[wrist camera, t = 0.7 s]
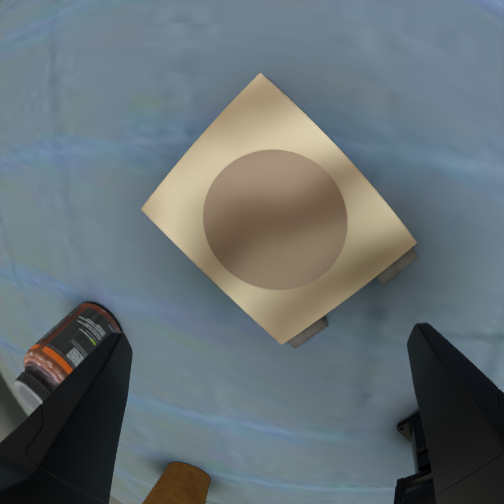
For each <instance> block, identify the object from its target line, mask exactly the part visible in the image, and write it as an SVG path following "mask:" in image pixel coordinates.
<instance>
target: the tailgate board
mask: <svg viewBox="0 0 504 504" xmlns="http://www.w3.org/2000/svg"><path fill="white" fill-rule="evenodd" d="M141 210H142V211H143V212H144V213H145V214H146V215H147V216H148V217H149V218H150V219H151V220H152V221H153V222H154V223H155V224H156V225H157V226H158V227H159V228H160V229H161V230H162V231H163V232H164V233H165V234H166V235H167V236H168V237H169V238H170V239H171V240H172V241H173V242H174V243H175V244H176V245H177V246H178V247H179V248H180V249H181V250H182V251H183V252H184V253H185V254H186V255H187V256H188V257H189V258H190V259H191V260H192V261H193V262H194V263H195V264H196V265H197V266H198V267H199V268H200V269H201V270H202V271H203V272H204V273H205V274H206V275H207V276H208V277H209V278H210V279H211V280H212V281H213V282H214V283H216V284H217V285H218V286H219V287H220V288H221V289H222V290H223V291H224V292H225V293H226V294H227V295H228V296H229V297H230V298H231V299H232V300H233V301H234V302H235V303H237V304H238V305H239V306H240V307H241V308H242V309H243V310H244V311H245V312H246V313H247V314H248V315H249V316H250V317H252V318H253V319H254V320H255V321H256V322H257V323H258V324H259V325H260V326H261V327H262V328H263V329H265V330H266V331H267V332H268V333H269V334H270V335H271V336H272V337H273V338H274V339H276V340H277V341H278V342H279V343H280V344H281V345H282V344H284V343H285V342H287V341H288V343H289V344H290V345H291V346H292V347H294V348H296V347H298V346H299V345H301V344H302V343H304V342H305V341H307V340H308V339H310V338H311V337H313V336H314V335H316V334H317V333H319V332H320V331H322V330H323V329H325V328H326V327H327V326H328V322H327V320H326V318H325V317H324V315H326V314H327V313H328V312H330V311H331V310H333V309H334V308H335V307H337V306H338V305H339V304H341V303H342V302H343V301H345V300H346V299H347V298H349V297H350V296H351V295H353V294H354V293H355V292H357V291H358V290H359V289H361V288H362V287H363V286H365V285H366V284H367V283H368V282H370V281H371V280H372V279H374V278H375V277H377V278H378V280H379V281H380V282H381V283H382V284H383V285H385V284H386V283H387V282H389V281H390V280H391V279H392V278H394V277H395V276H396V275H397V274H399V273H400V272H401V271H402V270H404V269H405V268H406V267H407V266H409V265H410V264H411V263H412V262H413V261H415V260H416V259H417V258H418V256H417V254H416V253H415V252H414V250H413V249H412V247H413V246H414V245H415V244H417V242H416V240H415V239H414V238H413V236H412V235H411V234H410V232H409V231H408V230H407V228H406V227H405V226H404V224H403V223H402V222H401V221H400V219H399V218H398V217H397V215H396V214H395V213H394V212H393V210H392V209H391V208H390V207H389V205H388V204H387V203H386V202H385V201H384V199H383V198H382V197H381V196H380V194H379V193H378V192H377V191H376V190H375V189H374V187H373V186H372V185H371V184H370V183H369V181H368V180H367V179H366V178H365V177H364V176H363V175H362V173H361V172H360V171H359V170H358V169H357V168H356V167H355V166H354V164H353V163H352V162H351V161H350V160H349V159H348V158H347V157H346V156H345V154H344V153H343V152H342V151H341V150H340V149H339V148H338V147H337V146H336V145H335V144H334V143H333V142H332V141H331V140H330V139H329V137H328V136H327V135H326V134H325V133H324V132H323V131H322V130H321V129H320V128H319V127H318V126H317V125H316V124H315V123H314V122H313V121H312V120H311V119H310V118H309V117H308V116H307V115H306V114H305V113H304V112H303V111H302V110H301V109H299V108H298V107H297V106H296V105H295V104H294V103H293V102H292V101H291V100H290V99H289V98H288V97H287V96H286V95H285V94H284V93H282V92H281V91H280V90H279V89H278V88H277V87H276V86H275V85H274V84H272V83H271V82H270V81H269V80H268V79H267V78H266V77H265V76H263V75H262V74H261V73H260V74H259V75H258V76H257V77H256V78H255V79H254V80H253V81H252V82H251V83H250V84H249V85H248V86H247V87H246V88H245V89H244V90H243V91H242V92H241V93H240V94H239V95H238V96H237V97H236V98H235V99H234V100H233V101H232V102H231V103H230V104H229V105H228V106H227V107H226V108H225V110H224V111H223V112H222V113H221V114H220V115H219V116H218V117H217V118H216V119H215V120H214V121H213V123H212V124H211V125H210V126H209V127H208V128H207V129H206V130H205V131H204V133H203V134H202V135H201V136H200V137H199V138H198V139H197V141H196V142H195V143H194V144H193V145H192V146H191V148H190V149H189V150H188V151H187V152H186V153H185V155H184V156H183V157H182V158H181V159H180V161H179V162H178V163H177V164H176V165H175V167H174V168H173V169H172V170H171V171H170V173H169V174H168V175H167V176H166V178H165V179H164V180H163V181H162V183H161V184H160V185H159V186H158V188H157V189H156V190H155V192H154V193H153V194H152V195H151V197H150V198H149V199H148V201H147V202H146V203H145V205H144V206H143V207H142V208H141Z"/></svg>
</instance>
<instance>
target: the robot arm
mask: <svg viewBox="0 0 504 504" xmlns="http://www.w3.org/2000/svg"><path fill="white" fill-rule="evenodd" d="M407 348H408V354H409V360H410V366H411V372H412V379H413V385H414V390H415V394H416V398H417V402H418V406H419V411H420V413H418V414H416V415H415V416H413V417H411V418H409V419H407V420H405V421H404V422H402V423H400V424H398V425H397V431H398V432H399V433H401V434H402V435H403V436H404V437H405V438H406V439H408V440H409V441H410V442H411V444H412V451H413V458H414V466H415V474H414V475H411V476H408V477H406V478H401V479H398V480H397V486H396V488H395V497H394V504H504V393H503V392H502V391H501V390H500V389H498V387H497V386H496V385H495V384H494V383H493V382H492V381H491V380H490V379H489V378H488V377H487V376H485V375H484V374H483V373H482V372H481V371H480V370H479V369H478V368H477V367H476V366H475V365H474V364H473V363H472V362H471V361H470V360H469V359H467V358H466V357H465V356H464V355H463V354H462V353H461V352H460V351H459V350H458V349H457V348H455V347H454V346H453V345H452V344H451V343H450V342H449V341H448V340H447V339H446V338H444V337H443V336H442V335H441V334H440V333H439V332H438V331H437V330H435V329H434V328H433V327H432V326H431V325H430V324H428V323H417V324H416V325H414V327H413V330H412V332H411V334H410V336H409V339H408V342H407ZM131 363H132V348H131V346H130V344H129V342H128V340H127V338H126V335H125V334H124V333H123V332H111V333H110V334H108V335H107V336H106V337H105V338H104V339H103V340H102V341H101V342H100V343H99V344H98V345H97V346H96V347H95V348H94V349H93V350H92V351H91V352H90V353H89V354H88V355H87V356H86V357H85V358H84V359H83V360H82V361H81V362H80V364H79V365H78V366H77V367H76V368H75V369H74V370H73V371H72V372H71V373H70V374H69V375H68V376H67V377H66V378H65V379H64V380H63V381H62V382H61V383H60V384H59V385H58V386H57V387H56V388H55V389H54V390H53V391H52V392H51V393H50V394H49V396H48V397H47V398H46V399H45V400H44V401H43V402H42V404H40V405H39V406H38V407H37V408H36V409H35V410H34V411H33V412H32V413H31V414H30V415H29V416H28V417H27V419H26V420H25V421H24V422H22V423H21V424H20V425H19V426H18V427H17V428H16V429H15V430H14V431H13V432H11V433H10V434H9V435H8V436H7V437H6V438H5V439H3V440H2V441H1V442H0V504H109V498H110V490H111V484H112V477H113V471H114V465H115V459H116V453H117V448H118V442H119V437H120V432H121V427H122V422H123V417H124V412H125V407H126V402H127V397H128V389H129V380H130V371H131Z"/></svg>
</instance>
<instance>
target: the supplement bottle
mask: <svg viewBox="0 0 504 504" xmlns="http://www.w3.org/2000/svg"><path fill="white" fill-rule="evenodd" d="M111 332H121V330H120V328H119V326H118V324H117V323H116V321H115V320H114V318H113V317H112V316H111V315H110V314H109V313H108V312H107V311H106V310H104V309H103V308H101V307H99V306H98V305H95V304H91V303H83V304H81V305H79V306H78V307H77V308H75V309H74V310H73V311H72V312H70V313H69V314H68V315H67V316H66V317H65V318H64V319H63V320H61V321H60V322H59V323H58V324H57V325H56V326H54V327H53V328H52V329H51V330H50V331H49V332H48V333H47V334H46V335H45V336H43V337H42V338H41V339H40V340H39V341H38V342H37V343H36V344H35V345H34V346H33V347H32V348H30V349H29V351H28V352H27V353H26V355H25V357H24V368H25V372H22V373H21V375H20V376H19V377H18V378H17V379H16V380H15V381H14V387H15V389H16V392H17V393H18V395H19V397H20V398H21V399H22V401H23V402H24V403H25V404H26V405H27V406H28V407H29V408H30V409H31V410H32V411H34V410H35V409H36V408H37V407H38V406H39V405H40V404H42V402H43V401H44V400H45V399H46V398H47V397H48V396H49V394H50V393H51V392H52V391H53V390H54V389H55V388H56V387H57V386H58V385H59V384H60V383H61V382H62V381H63V380H64V379H65V378H66V377H67V376H68V375H69V374H70V373H71V372H72V371H73V370H74V369H75V368H76V367H77V366H78V365H79V364H80V362H81V361H82V360H83V359H84V358H85V357H86V356H87V355H88V354H89V353H90V352H91V351H92V350H93V349H94V348H95V347H96V346H97V345H98V344H99V343H100V342H101V341H102V340H103V339H104V338H105V337H106V336H107V335H108V334H110V333H111Z"/></svg>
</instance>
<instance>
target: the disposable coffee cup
mask: <svg viewBox="0 0 504 504" xmlns="http://www.w3.org/2000/svg"><path fill="white" fill-rule="evenodd" d="M209 483H210V477H209V476H208V475H207V474H206V473H205V472H203V471H202V470H200V469H198V468H196V467H194V466H191V465H188V464H185V463H180V462H173V463H170V464H169V465H168V467H167V468H166V470H165V471H164V473H163V474H162V476H161V477H160V479H159V480H158V481H157V483H156V484H155V486H154V487H153V489H152V490H151V492H150V493H149V495H148V496H147V497H146V499H145V500H144V502H143V503H142V504H205V503H206V498H207V493H208V488H209Z"/></svg>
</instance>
